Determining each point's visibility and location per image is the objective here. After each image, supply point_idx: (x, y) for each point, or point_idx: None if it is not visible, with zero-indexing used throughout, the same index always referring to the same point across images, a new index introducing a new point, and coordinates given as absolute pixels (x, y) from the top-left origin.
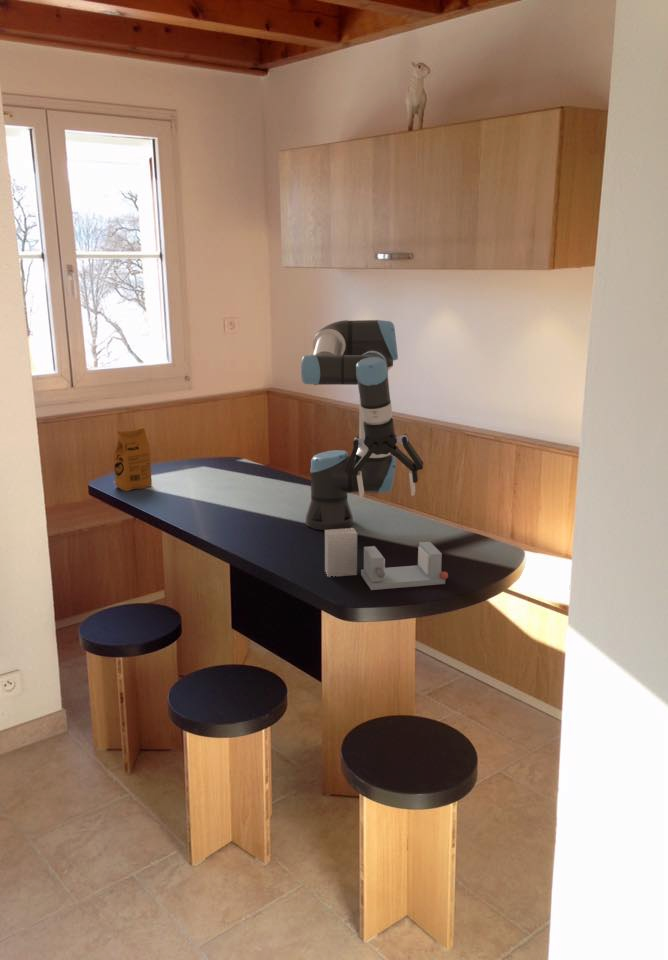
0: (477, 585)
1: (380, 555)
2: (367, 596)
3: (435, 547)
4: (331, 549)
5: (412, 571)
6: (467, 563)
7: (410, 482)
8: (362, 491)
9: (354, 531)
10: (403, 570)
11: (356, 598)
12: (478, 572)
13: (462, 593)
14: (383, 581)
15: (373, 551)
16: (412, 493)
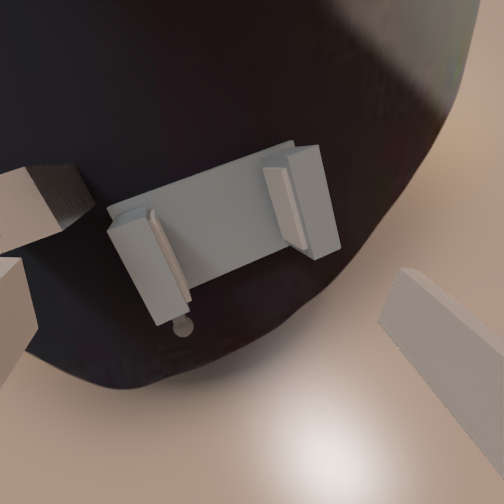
0: (367, 227)
1: (178, 299)
2: (153, 332)
3: (330, 200)
4: None
5: (247, 200)
6: (368, 88)
7: (445, 402)
8: (11, 340)
9: (44, 218)
10: (224, 197)
11: (130, 348)
12: (380, 151)
13: (337, 272)
14: None
15: (150, 269)
16: (392, 332)
